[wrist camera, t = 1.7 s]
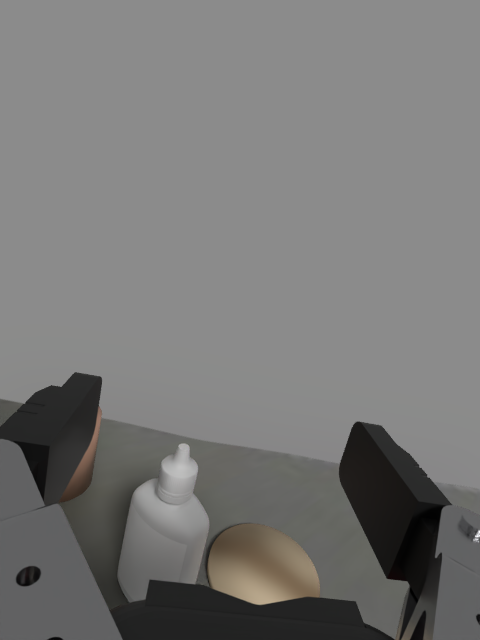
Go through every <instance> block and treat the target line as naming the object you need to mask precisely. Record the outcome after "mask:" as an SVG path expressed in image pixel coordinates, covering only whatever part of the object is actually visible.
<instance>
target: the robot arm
mask: <svg viewBox="0 0 480 640" xmlns="http://www.w3.org/2000/svg"><path fill="white" fill-rule="evenodd" d="M101 385H102V378H101V377H100V376H94V375H88V374H82V373H77V372H75V373H74V374H73V375H72V376H71V377H70V378H69V379H68V380H67V382H66V383H65V384H64V385H63V386H62V387H58V386H52V385H51V386H49V387H47V388H44V389H42V390H40V391H38V392H36V393H34V395H32V397H30V398H29V399H28V400H27V401H26V403H25V404H23V405H22V406H21V407H20V408H19V409H18V410H17V413H16V412H15V413H14V414H13V415H12V416H11V417H10V418H9V419H8V420H7V421H6V422H5V423H4V424H3V425H2V426H1V427H0V640H480V515H478V514H476V513H474V512H472V511H470V510H468V509H465V508H463V507H459V506H454V505H452V504H451V503H450V502H449V501H448V499H447V498H446V497H445V496H444V495H443V493H442V492H441V491H440V490H439V489H438V487H437V486H436V485H435V484H434V483H433V482H432V480H431V479H430V478H427V474H426V473H425V472H424V471H423V470H422V468H419V465H418V464H417V462H416V461H415V460H414V459H413V458H412V456H411V455H410V454H409V453H407V452H406V451H404V450H403V449H402V448H401V447H400V446H398V445H397V444H396V443H395V442H394V441H393V439H392V438H391V437H390V436H389V434H388V433H387V432H386V431H385V429H384V428H383V427H382V426H380V425H374V424H369V423H364V422H356V423H355V424H354V425H353V427H352V429H351V432H350V435H349V438H348V441H347V444H346V447H345V450H344V453H343V456H342V459H341V463H340V467H339V478H340V482H341V485H342V487H343V489H344V491H345V493H346V495H347V497H348V499H349V501H350V503H351V506H352V508H353V510H354V512H355V514H356V516H357V518H358V520H359V522H360V524H361V526H362V528H363V530H364V532H365V534H366V537H367V539H368V541H369V543H370V545H371V547H372V549H373V551H374V553H375V555H376V557H377V559H378V561H379V563H380V565H381V567H382V570H383V572H384V574H385V576H386V578H387V579H393V580H401V581H408V583H409V585H410V586H409V588H408V590H407V593H406V595H405V598H404V602H403V607H402V611H401V616H400V621H399V625H398V630H397V634H396V639H393V638H392V637H390V636H388V635H387V634H385V633H383V632H382V631H380V630H378V629H376V628H374V627H372V626H370V625H368V624H365V623H364V622H363V620H362V617H361V614H360V612H359V609H358V606H357V604H356V602H355V601H346V600H336V599H327V598H318V597H308V596H307V597H302V598H296V599H291V600H285V601H280V602H274V603H269V604H263V605H257V604H253V603H250V602H247V601H245V600H242V599H239V598H236V597H234V596H231V595H228V594H226V593H223V592H220V591H217V590H215V589H212V588H209V587H207V586H204V585H197V584H187V583H178V582H169V581H160V580H150V579H149V584H148V589H147V594H146V599H145V600H139V601H134V602H130V603H127V604H124V605H120V606H118V607H116V608H114V609H111V610H109V609H108V607H107V605H106V602H105V600H104V598H103V596H102V594H101V592H100V589H99V587H98V585H97V583H96V581H95V579H94V576H93V574H92V572H91V570H90V568H89V566H88V563H87V561H86V559H85V557H84V555H83V553H82V551H81V548H80V546H79V544H78V542H77V540H76V538H75V535H74V533H73V531H72V529H71V527H70V525H69V522H68V520H67V518H66V516H65V514H64V512H63V510H62V508H61V506H60V505H59V504H58V502H59V500H60V499H61V497H62V495H63V493H64V491H65V489H66V488H67V486H68V484H69V482H70V480H71V478H72V477H73V475H74V473H75V471H76V469H77V467H78V466H79V464H80V462H81V460H82V458H83V456H84V455H85V453H86V451H87V449H88V447H89V445H90V443H91V441H92V438H93V435H94V431H95V426H96V421H97V414H98V407H99V400H100V393H101Z"/></svg>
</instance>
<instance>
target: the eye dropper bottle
mask: <svg viewBox="0 0 480 640" xmlns="http://www.w3.org/2000/svg"><path fill="white" fill-rule="evenodd" d="M189 449H190V448H189V446H188V445H187V444H180V445H179V446H178V448H177V451H176V453H175V454H173V455H169V456H167V457H165V458H164V459H163V460H162V462H161V466H160V470H159V475H158V478H154V479H150V480H148V481H147V482H145V483H143V484H142V485H140V486H139V487H138V488H137V489H136V490H135V491H134V493H133V495H132V498H131V503H130V507H129V512H128V517H127V522H126V528H125V533H124V538H123V543H122V549H121V554H120V559H119V565H118V571H117V578H118V582H119V585H120V587H121V589H122V591H123V593H124V595H125V597H126V598H127V600H128V601H129V602H134V601H139V600H145V599H146V594H147V589H148V584H149V579H150V580H160V581H169V582H178V583H187V584H195V583H196V579H197V576H198V572H199V568H200V564H201V560H202V556H203V552H204V548H205V544H206V540H207V535H208V531H209V518H208V516H207V513H206V511H205V510H204V508H203V506H202V504H201V503H200V501H199V500H198V499H197V497H196V496H195V495H194V494H193V490H194V486H195V482H196V478H197V473H198V465H197V463H196V462H195V461H194V460H193V459H192V458H190V457H189Z"/></svg>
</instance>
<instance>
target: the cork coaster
mask: <svg viewBox="0 0 480 640" xmlns="http://www.w3.org/2000/svg"><path fill="white" fill-rule="evenodd" d="M207 575H208V581H209V585H210V588H212V589H215V590H217V591H220V592H223V593H226V594H228V595H231V596H234V597H236V598H239V599H242V600H245V601H247V602H250V603H253V604H257V605H263V604H269V603H274V602H280V601H285V600H291V599H296V598H302V597H307V596H308V597H318V598H319V597H320V585H319V579H318V575H317V572H316V569H315V567H314V565H313V563H312V561H311V560H310V558H309V556H308V555H307V554H306V552H305V551H304V550H303V549H302V548H301V547H300V546H299V545H298V544H297V543H296V542H295V541H294V540H293V539H291V538H290V537H289V536H287V535H286V534H284V533H282V532H280V531H278V530H276V529H274V528H271V527H268V526H265V525H260V524H240V525H236V526H233V527H231V528H229V529H227V530H225V531H224V532H223V533H221V534H220V535H219V536H218V538H217V539H216V540H215V542H214V543H213V545H212V548H211V551H210V554H209V558H208V564H207Z"/></svg>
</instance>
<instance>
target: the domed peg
mask: <svg viewBox="0 0 480 640" xmlns="http://www.w3.org/2000/svg"><path fill="white" fill-rule="evenodd" d="M101 415H102V411H101V409H100V407H98V414H97V421H96V426H95V431H94V435H93V438H92V441H91V443H90V445H89V447H88V449H87V451H86V453H85V455H84V456H83V458H82V460H81V462H80V464H79V466H78V467H77V469H76V471H75V473H74V475H73V477H72V478H71V480H70V482H69V484H68V486H67V488H66V489H65V491H64V493H63V495H62V497H61V499H60V500H59V502H64V501H68V500H71V499H73V498H75V497H77V496H79V495H81V494H82V493H83V492H84V491H85V490H86V489H87V488H88V487H89V485H90V484H91V481H92V475H93V468H94V461H95V455H96V448H97V442H98V435H99V429H100V422H101ZM59 502H58V503H59Z"/></svg>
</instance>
